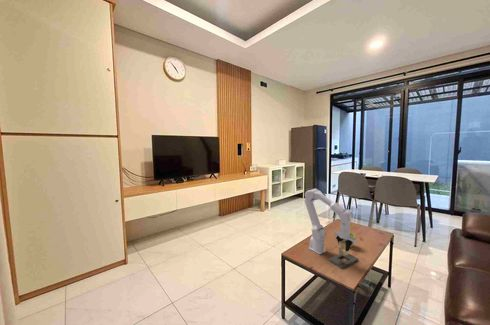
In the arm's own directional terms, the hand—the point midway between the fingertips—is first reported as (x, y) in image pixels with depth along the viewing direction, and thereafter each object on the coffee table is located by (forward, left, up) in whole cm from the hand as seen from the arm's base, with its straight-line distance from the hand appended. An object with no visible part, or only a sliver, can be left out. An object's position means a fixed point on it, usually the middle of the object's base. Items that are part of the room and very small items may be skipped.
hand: (344, 249), depth 134 cm
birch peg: (0, 0, -3) cm, 3 cm away
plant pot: (-10, +20, -8) cm, 24 cm away
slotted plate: (0, 0, -8) cm, 8 cm away
